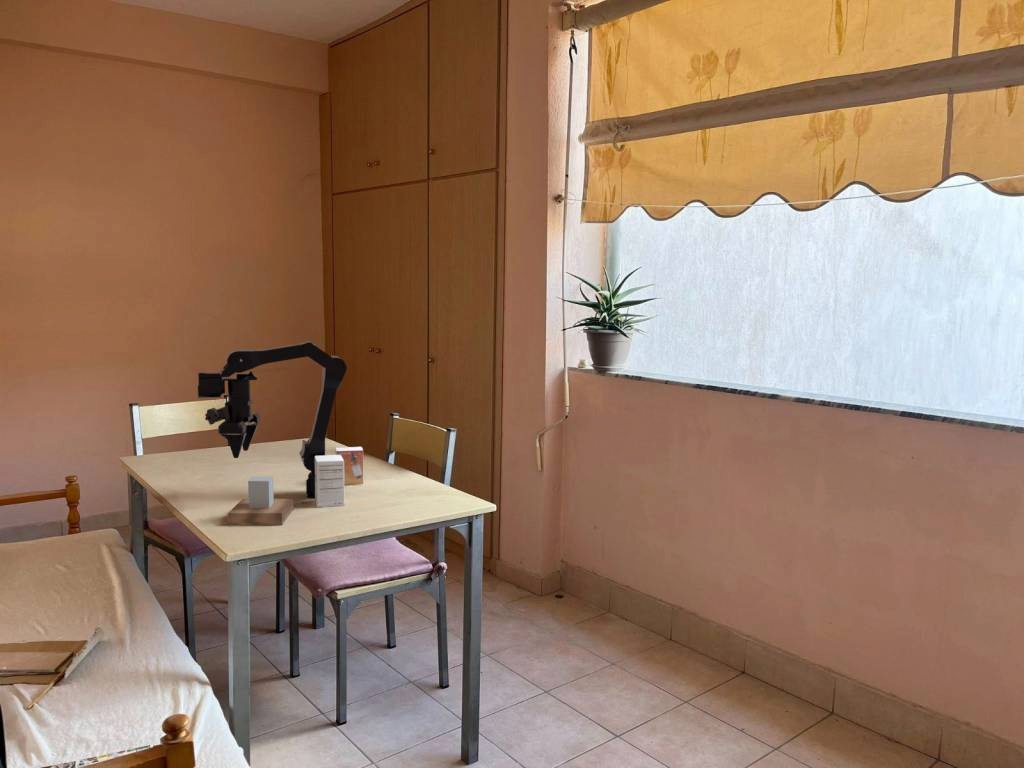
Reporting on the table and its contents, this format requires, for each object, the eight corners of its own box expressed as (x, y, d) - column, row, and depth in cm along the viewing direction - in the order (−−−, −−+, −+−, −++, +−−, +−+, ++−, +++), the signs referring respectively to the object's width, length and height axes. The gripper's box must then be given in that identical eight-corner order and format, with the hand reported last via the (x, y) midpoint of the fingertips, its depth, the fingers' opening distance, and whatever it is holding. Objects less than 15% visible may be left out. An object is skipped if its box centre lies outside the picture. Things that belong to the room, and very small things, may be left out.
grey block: (273, 502, 202) (273, 476, 201) (269, 508, 197) (268, 481, 196) (253, 503, 202) (253, 476, 201) (248, 508, 197) (248, 481, 196)
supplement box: (314, 500, 216) (314, 455, 214) (342, 498, 218) (341, 454, 216) (316, 508, 209) (315, 461, 207) (345, 506, 211) (344, 459, 209)
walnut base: (293, 509, 206) (293, 498, 206) (282, 524, 194) (281, 513, 193) (242, 510, 206) (242, 498, 205) (228, 525, 193) (227, 513, 192)
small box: (336, 486, 232) (335, 450, 230) (335, 481, 237) (334, 447, 236) (363, 484, 234) (363, 449, 232) (362, 480, 239) (361, 446, 238)
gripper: (219, 392, 219) (221, 447, 221) (196, 401, 201) (198, 461, 203) (260, 392, 220) (261, 447, 222) (241, 402, 201) (243, 462, 203)
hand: (240, 454), depth 212 cm, fingers open, 9 cm apart
